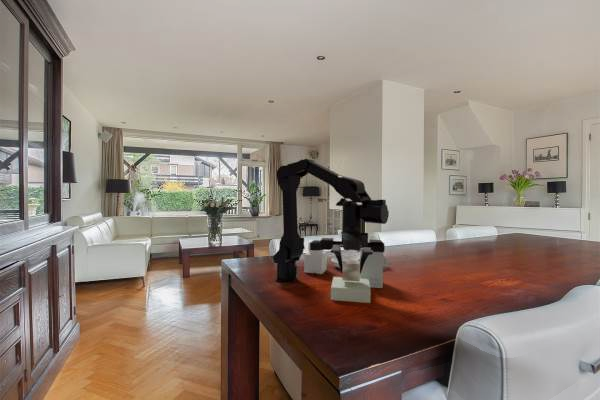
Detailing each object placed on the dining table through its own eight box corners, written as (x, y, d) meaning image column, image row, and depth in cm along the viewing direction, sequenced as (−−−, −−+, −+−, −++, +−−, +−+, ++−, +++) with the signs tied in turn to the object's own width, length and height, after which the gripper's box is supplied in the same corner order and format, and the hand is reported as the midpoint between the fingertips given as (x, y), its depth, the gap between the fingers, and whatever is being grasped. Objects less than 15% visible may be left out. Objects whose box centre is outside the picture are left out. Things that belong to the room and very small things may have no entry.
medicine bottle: (326, 270, 118) (327, 240, 118) (322, 274, 111) (322, 242, 111) (309, 268, 120) (309, 238, 120) (304, 272, 113) (304, 241, 113)
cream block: (342, 280, 87) (342, 263, 87) (342, 275, 92) (342, 259, 92) (359, 281, 86) (360, 264, 86) (358, 276, 91) (359, 260, 91)
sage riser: (330, 301, 85) (331, 287, 84) (333, 289, 95) (333, 276, 95) (370, 304, 83) (370, 290, 83) (368, 291, 93) (368, 279, 93)
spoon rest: (336, 272, 115) (336, 254, 115) (327, 265, 127) (328, 248, 127) (392, 270, 120) (392, 252, 120) (379, 263, 131) (379, 247, 131)
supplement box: (383, 288, 95) (383, 249, 95) (359, 286, 97) (360, 248, 97) (381, 282, 103) (382, 245, 102) (359, 280, 104) (360, 244, 104)
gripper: (318, 223, 82) (317, 279, 82) (387, 225, 79) (386, 283, 80) (321, 219, 93) (320, 269, 93) (382, 221, 90) (381, 272, 91)
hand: (350, 273), depth 89 cm, fingers closed on cream block, 5 cm apart
